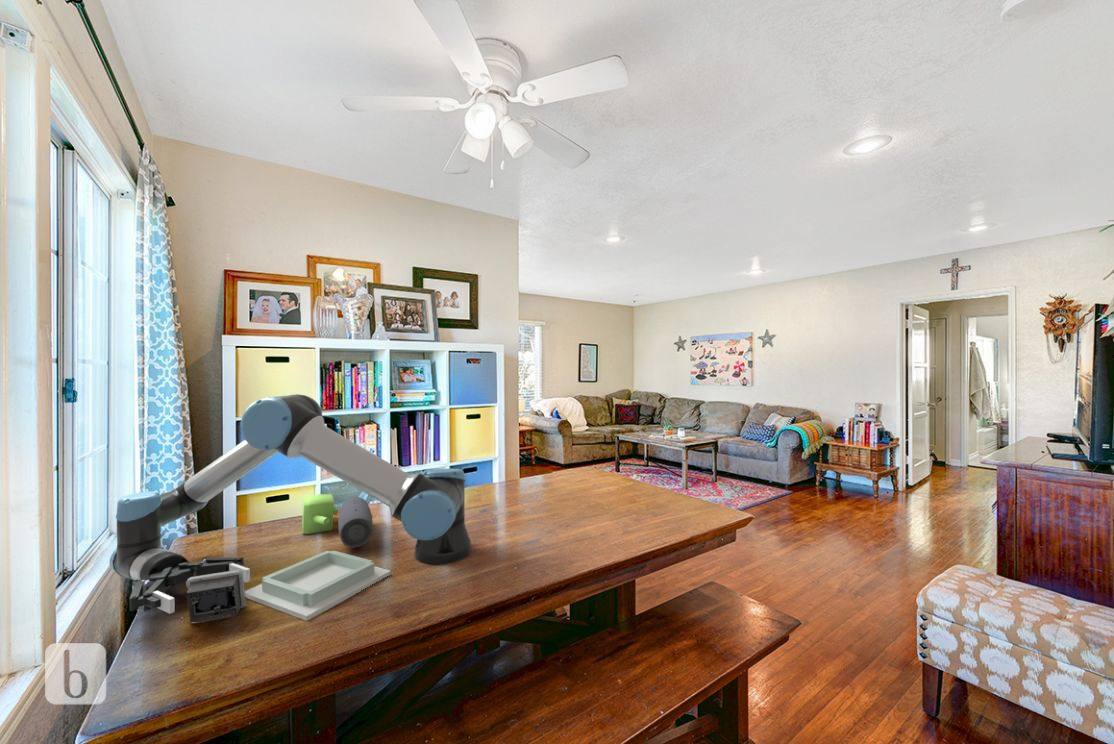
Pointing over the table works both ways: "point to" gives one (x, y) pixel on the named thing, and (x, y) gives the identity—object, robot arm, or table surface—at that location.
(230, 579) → the electrical switch
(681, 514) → the table surface
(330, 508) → the gearbox
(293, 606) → the pocket tray
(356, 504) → the bluetooth speaker
